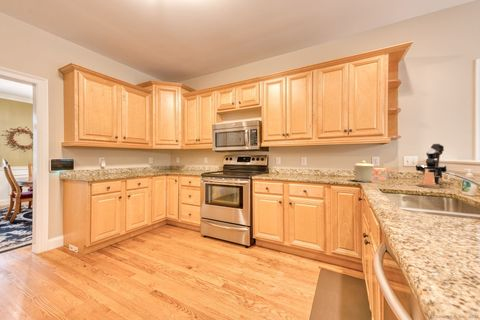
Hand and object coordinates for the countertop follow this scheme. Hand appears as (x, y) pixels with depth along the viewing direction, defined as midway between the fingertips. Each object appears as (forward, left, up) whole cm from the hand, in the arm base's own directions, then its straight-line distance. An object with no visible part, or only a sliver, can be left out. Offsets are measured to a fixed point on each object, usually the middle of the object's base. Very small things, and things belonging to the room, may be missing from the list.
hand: (429, 175), depth 171 cm
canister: (+3, -49, -10) cm, 50 cm away
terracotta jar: (-1, 0, -7) cm, 7 cm away
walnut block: (-1, 0, -10) cm, 10 cm away
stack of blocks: (-24, -48, -10) cm, 55 cm away
